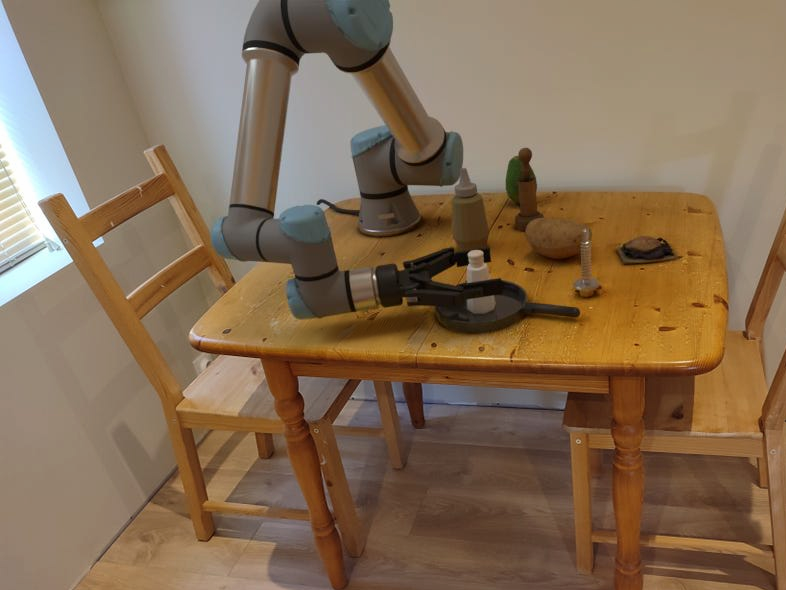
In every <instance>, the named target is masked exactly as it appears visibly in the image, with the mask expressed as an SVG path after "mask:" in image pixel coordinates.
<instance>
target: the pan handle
mask: <svg viewBox="0 0 786 590" xmlns="http://www.w3.org/2000/svg"><path fill="white" fill-rule="evenodd" d="M522 306H523V307H522V312H523V313H524V314H525V315H533V314H539V315H548V316H556V317H557V316H558V317H566V318H572V319H573V318H574V319H576V318H579V316H580V315H581V309H580V308H579V307H576V306H568V305H557V304H550V303H541V302H533V301H528V302H524V303H523V304H522Z"/></svg>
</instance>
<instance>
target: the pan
mask: <svg viewBox="0 0 786 590" xmlns="http://www.w3.org/2000/svg"><path fill="white" fill-rule="evenodd" d="M491 279H492V278H490V280H491ZM501 280H502V291H503V294H500V295H494V298H495V303H496V305H495V308H494V310H493V311H490V312H488V313H486V314H473V313H471V312H470V311H468V310H467V300H465V304H466V305H465V306H463V307H461V308H449V307H436V306H434V311H435V315H436V319H437V321H438V322H439V324H440V325H442V326H443V327H445V328H446V329H450V330H452V331H454V332H459V333H467V334H482V333H483V334H484V333H489V332H495V331H499V330H502V329H506V328H508V327H511V326H512V325H514V324H516V323H517V322H519V321H520V320H522V319H523V318H524V316H526V314H524V313H523V312H522V307H523V306H522V304H523V303H524V302H529V297H528V293H527V291H526V289H524V288H523V287H522V286H521V285H519V284H518V283H515V282H513V281H508V280H505V279H501ZM464 283H467V281H464V282H461V283H458V284H456V285H455V286H460V287H463V284H464ZM453 302H454V301H453Z"/></svg>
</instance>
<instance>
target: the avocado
mask: <svg viewBox="0 0 786 590" xmlns="http://www.w3.org/2000/svg"><path fill="white" fill-rule="evenodd" d="M522 167H523V164H522V162H521V160H520V159H519V156H518V155H514V156H513V157H512V158H510V160H509V161H508V164H507V169H506V175H505V191H506V193H507V196H508V198H509V199H510V200H511V201H512V202H514V203H515V204H519V205H520V199H519V187H518V180H519V179H520V178H523V176H522V173H521V168H522ZM529 167H530V168H531V174H530V177H534V178H535V180H536V191H537V189H538V182H537V176H536V175H535V172H534V169H533V168H532V166H531V164H530V163H529Z"/></svg>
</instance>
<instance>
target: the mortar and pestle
mask: <svg viewBox="0 0 786 590" xmlns="http://www.w3.org/2000/svg"><path fill="white" fill-rule="evenodd" d="M517 156H519V159H520V160H521V162H522V164H523V167H522V168H521V173H522V176H523V178H520V179H519V180H518V187H519V199H520V204H519V211H520V212H518V213H517V215H516V216H515V218H514V223H515V228H516V230H519V231H521V232H525V231H526V227H527V225H528V224H529V222H530V221H532V220H534V219H538V218H544V214H543V213H542V212H540V211H538V202H537V190H536V182H537V179H536V180H535V178H534V177H530V174H531V168H532V167H531V168H530V167H529V164H530V162H531V160H532V157H533V151H532V149H531V148H529V147H523V148H520V149H519V151H518V154H517Z"/></svg>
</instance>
